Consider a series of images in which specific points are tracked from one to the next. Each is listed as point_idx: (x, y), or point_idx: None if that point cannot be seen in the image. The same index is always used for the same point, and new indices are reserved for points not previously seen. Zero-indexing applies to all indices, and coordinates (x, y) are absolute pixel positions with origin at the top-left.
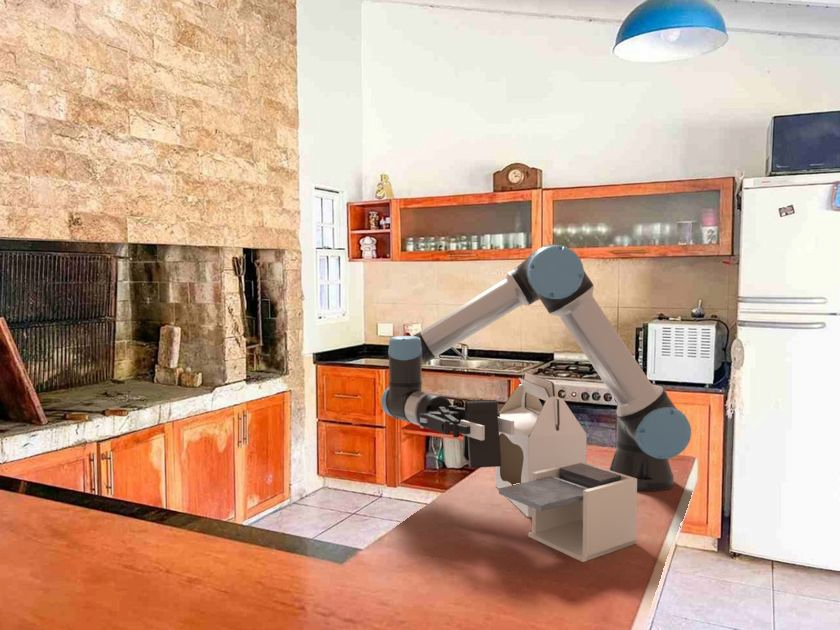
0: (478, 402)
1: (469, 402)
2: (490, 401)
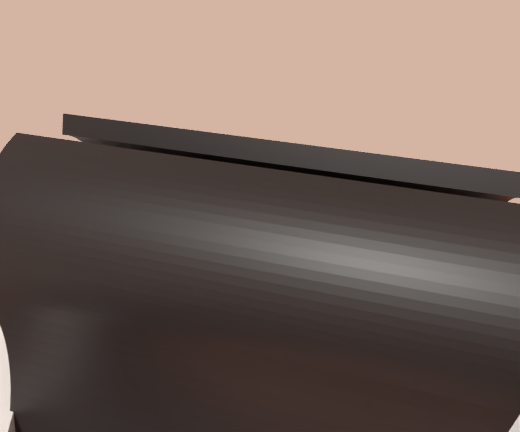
0: (327, 152)
1: (473, 167)
2: (150, 125)
